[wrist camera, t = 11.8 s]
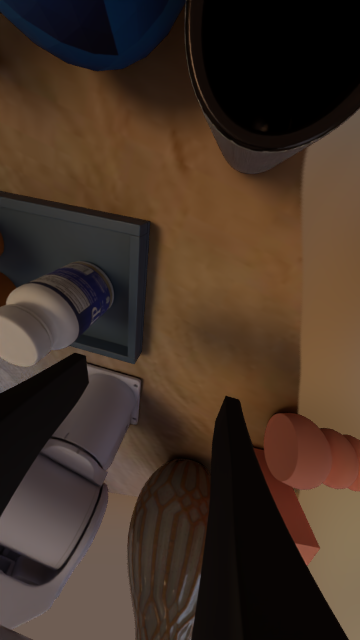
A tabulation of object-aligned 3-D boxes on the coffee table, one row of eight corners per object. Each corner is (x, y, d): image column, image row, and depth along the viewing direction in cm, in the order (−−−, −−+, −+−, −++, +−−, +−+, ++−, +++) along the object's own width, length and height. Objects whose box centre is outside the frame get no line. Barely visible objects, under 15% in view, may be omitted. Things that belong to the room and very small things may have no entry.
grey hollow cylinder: (203, 138, 14) (143, 52, 5) (262, 46, 11) (342, -426, 3) (254, 191, 14) (278, 196, 6) (319, 116, 12) (527, -67, 3)
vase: (135, 452, 36) (66, 629, 22) (199, 439, 30) (162, 674, 16) (181, 492, 40) (149, 665, 26) (246, 488, 34) (252, 712, 19)
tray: (142, 351, 24) (134, 364, 22) (-17, 308, 27) (-35, 316, 25) (150, 221, 17) (140, 225, 15) (-71, 176, 19) (-102, 175, 17)
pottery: (223, 494, 30) (288, 508, 31) (239, 596, 21) (331, 613, 22) (272, 388, 25) (350, 407, 26) (321, 464, 16) (439, 491, 17)
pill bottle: (97, 320, 23) (28, 385, 15) (55, 283, 21) (-42, 334, 14) (126, 291, 20) (60, 352, 12) (81, 247, 19) (-22, 286, 11)
